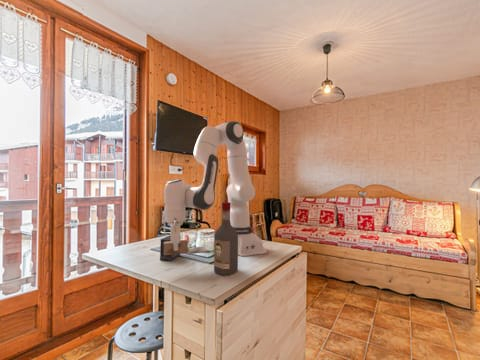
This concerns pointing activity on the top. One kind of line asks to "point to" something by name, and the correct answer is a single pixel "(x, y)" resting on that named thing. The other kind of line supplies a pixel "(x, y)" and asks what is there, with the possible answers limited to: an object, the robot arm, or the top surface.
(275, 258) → the top surface
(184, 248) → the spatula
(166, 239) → the small box
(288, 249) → the top surface
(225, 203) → the liquor
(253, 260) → the top surface
